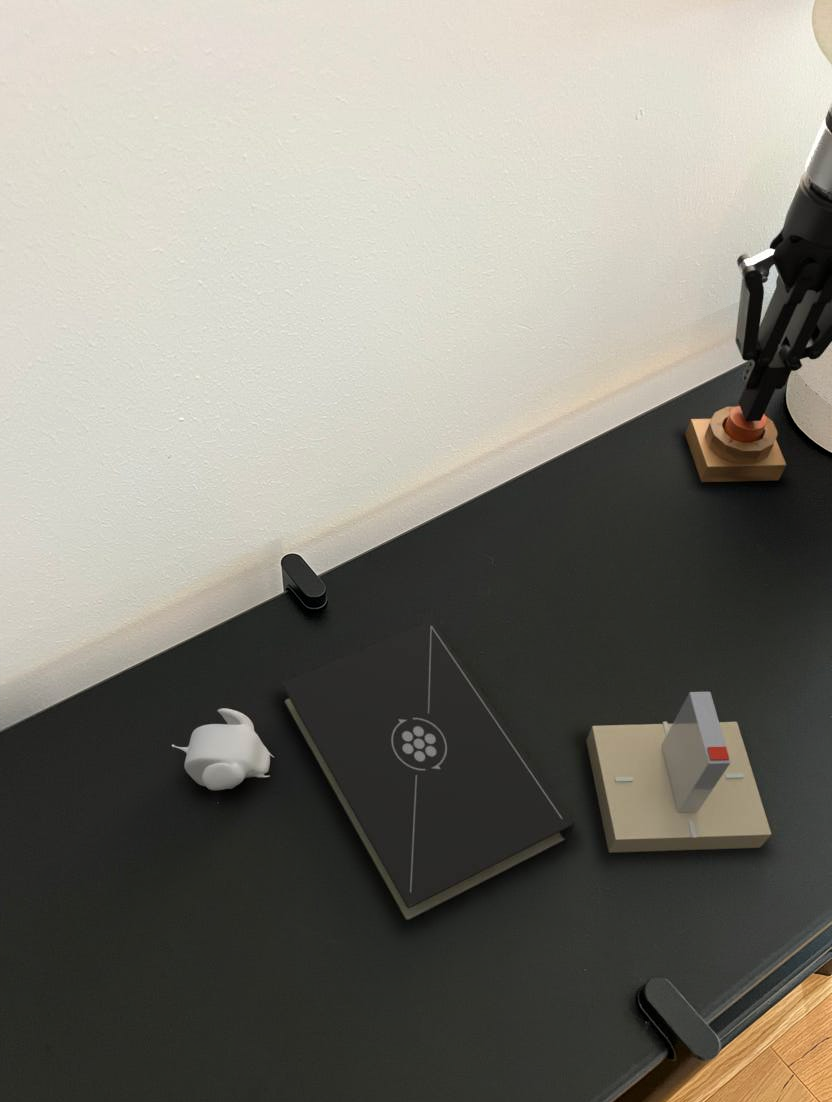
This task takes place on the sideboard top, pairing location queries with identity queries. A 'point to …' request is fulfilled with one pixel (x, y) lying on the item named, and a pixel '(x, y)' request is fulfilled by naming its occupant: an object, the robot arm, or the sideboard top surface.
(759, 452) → the button block
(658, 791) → the panel
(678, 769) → the grey rectangular block
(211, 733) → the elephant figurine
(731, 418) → the button
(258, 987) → the sideboard top surface
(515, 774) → the book
